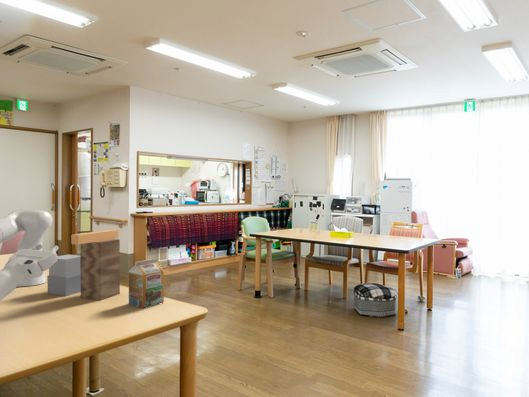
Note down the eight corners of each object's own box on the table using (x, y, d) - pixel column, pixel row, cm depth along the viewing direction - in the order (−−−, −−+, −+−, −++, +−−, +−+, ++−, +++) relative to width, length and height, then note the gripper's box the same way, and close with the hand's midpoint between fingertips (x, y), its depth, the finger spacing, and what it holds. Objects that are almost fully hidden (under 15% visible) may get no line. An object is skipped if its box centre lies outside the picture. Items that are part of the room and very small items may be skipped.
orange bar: (71, 244, 174) (71, 234, 174) (111, 237, 197) (111, 229, 197) (78, 244, 173) (78, 235, 173) (118, 238, 195) (118, 230, 195)
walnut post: (80, 297, 184) (80, 241, 184) (100, 291, 196) (100, 238, 195) (100, 300, 180) (100, 242, 179) (119, 293, 191) (119, 239, 190)
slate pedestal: (47, 293, 191) (47, 258, 191) (68, 287, 202) (68, 254, 202) (66, 296, 187) (65, 259, 186) (86, 290, 198) (86, 255, 197)
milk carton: (149, 298, 183) (149, 257, 182) (163, 303, 176) (163, 260, 176) (128, 303, 175) (128, 260, 174) (142, 308, 168) (142, 263, 167)
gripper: (6, 272, 158) (34, 250, 169) (43, 276, 150) (70, 253, 161) (-2, 260, 155) (27, 238, 166) (35, 263, 147) (63, 241, 158)
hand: (48, 246), depth 163 cm, fingers open, 8 cm apart
